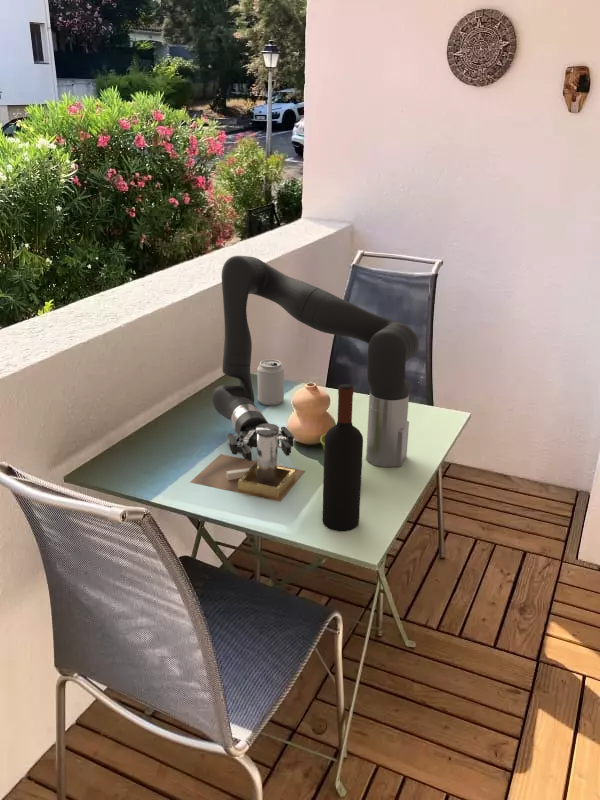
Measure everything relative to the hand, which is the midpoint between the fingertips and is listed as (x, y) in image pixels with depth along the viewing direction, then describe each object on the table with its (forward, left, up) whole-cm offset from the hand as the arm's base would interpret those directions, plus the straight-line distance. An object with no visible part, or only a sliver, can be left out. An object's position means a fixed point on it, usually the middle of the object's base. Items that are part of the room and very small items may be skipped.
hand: (269, 454), depth 156 cm
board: (+7, -3, -10) cm, 12 cm away
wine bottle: (-18, +5, -10) cm, 21 cm away
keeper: (+1, -1, -10) cm, 10 cm away
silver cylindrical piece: (+1, -1, -8) cm, 9 cm away
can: (+21, -48, -10) cm, 53 cm away
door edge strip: (+6, -5, -10) cm, 12 cm away
